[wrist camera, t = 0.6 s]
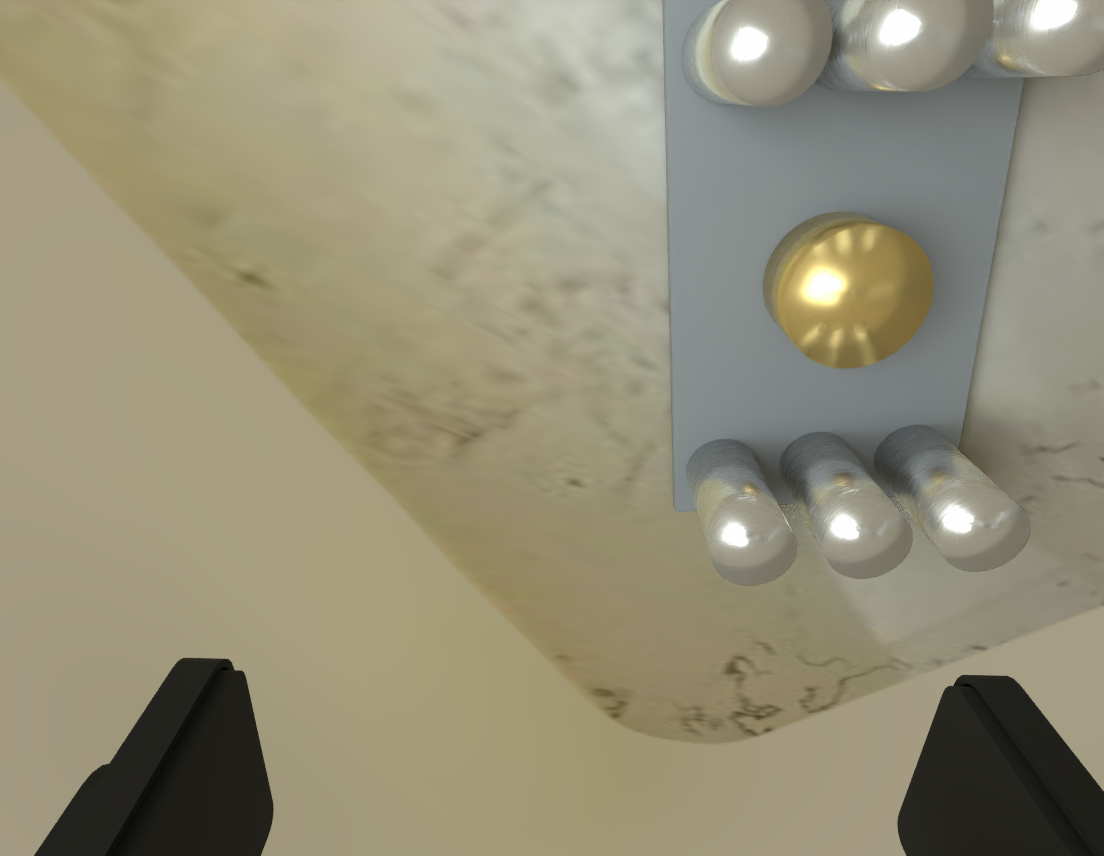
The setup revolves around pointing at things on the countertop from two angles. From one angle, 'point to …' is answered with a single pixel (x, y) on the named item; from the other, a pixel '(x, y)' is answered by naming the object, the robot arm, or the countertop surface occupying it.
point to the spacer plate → (793, 197)
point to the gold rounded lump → (847, 289)
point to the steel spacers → (912, 451)
